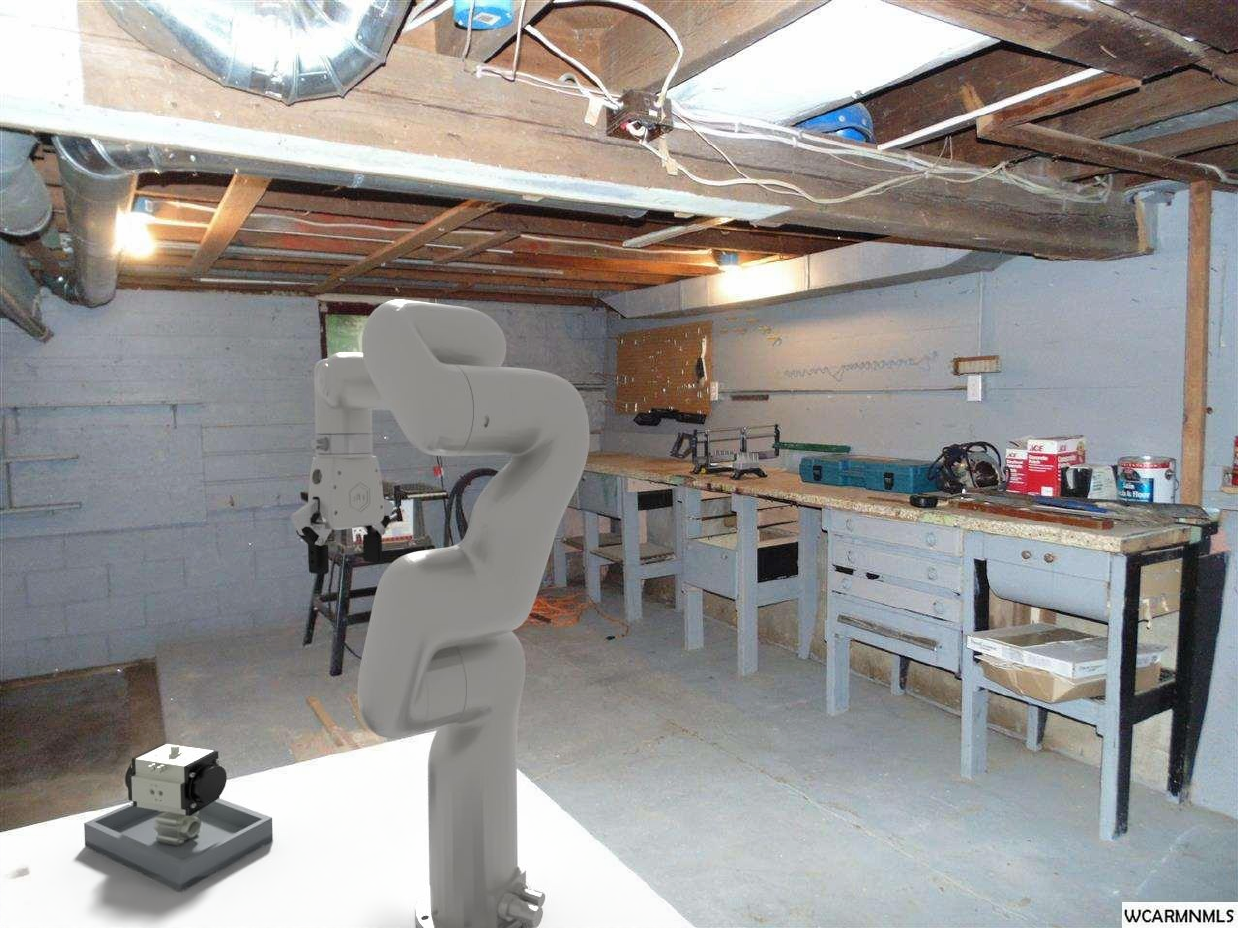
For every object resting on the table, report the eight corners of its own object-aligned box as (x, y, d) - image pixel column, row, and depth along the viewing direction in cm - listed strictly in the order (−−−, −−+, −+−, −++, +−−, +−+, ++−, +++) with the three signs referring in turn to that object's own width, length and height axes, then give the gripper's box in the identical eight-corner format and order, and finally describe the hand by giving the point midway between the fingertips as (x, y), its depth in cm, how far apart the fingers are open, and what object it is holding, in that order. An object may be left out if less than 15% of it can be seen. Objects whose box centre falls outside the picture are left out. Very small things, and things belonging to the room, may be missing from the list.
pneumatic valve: (157, 822, 99) (154, 733, 98) (229, 835, 95) (227, 743, 95) (119, 844, 93) (116, 751, 93) (194, 859, 90) (191, 762, 90)
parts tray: (272, 840, 96) (272, 817, 96) (180, 891, 85) (179, 866, 85) (178, 803, 105) (177, 783, 105) (85, 846, 94) (84, 822, 94)
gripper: (311, 449, 95) (314, 581, 96) (408, 446, 111) (410, 559, 111) (272, 448, 99) (276, 575, 100) (371, 445, 114) (373, 556, 115)
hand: (346, 567), depth 106 cm, fingers open, 9 cm apart
